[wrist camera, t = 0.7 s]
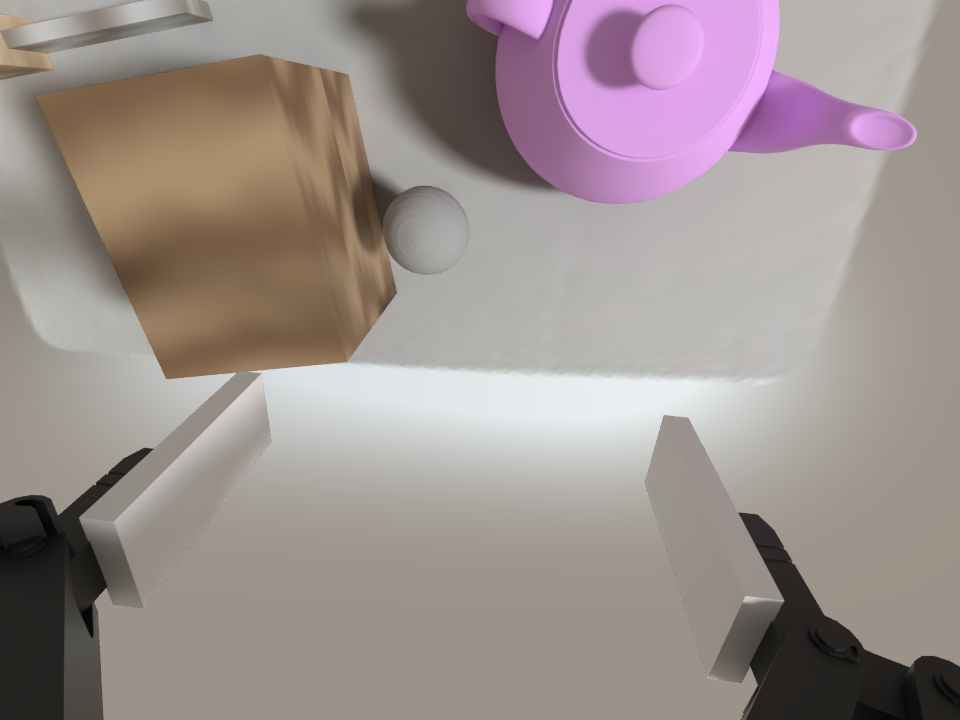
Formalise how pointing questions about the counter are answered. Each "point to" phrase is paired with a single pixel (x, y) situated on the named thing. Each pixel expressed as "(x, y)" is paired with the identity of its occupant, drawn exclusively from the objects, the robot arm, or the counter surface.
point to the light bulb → (425, 230)
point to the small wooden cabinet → (232, 210)
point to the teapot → (657, 92)
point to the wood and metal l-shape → (88, 31)
